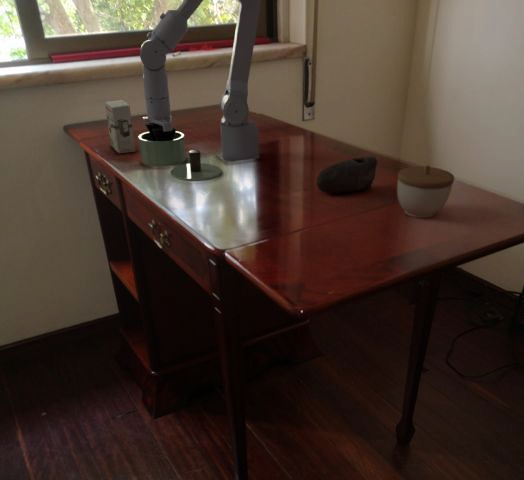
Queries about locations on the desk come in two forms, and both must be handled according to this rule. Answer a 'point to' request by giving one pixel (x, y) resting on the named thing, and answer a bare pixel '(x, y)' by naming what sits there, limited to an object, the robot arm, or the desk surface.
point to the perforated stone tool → (348, 176)
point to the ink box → (120, 126)
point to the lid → (195, 169)
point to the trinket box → (423, 190)
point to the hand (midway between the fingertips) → (163, 154)
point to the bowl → (162, 150)
